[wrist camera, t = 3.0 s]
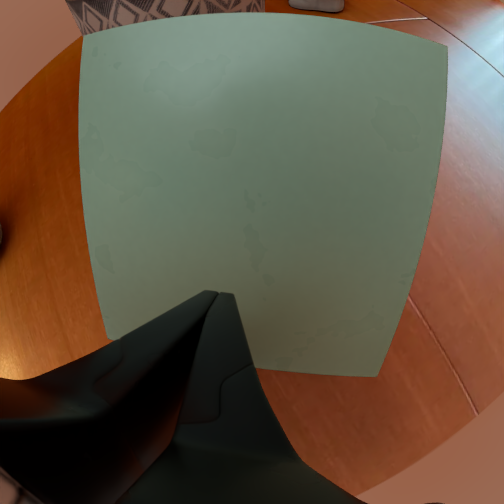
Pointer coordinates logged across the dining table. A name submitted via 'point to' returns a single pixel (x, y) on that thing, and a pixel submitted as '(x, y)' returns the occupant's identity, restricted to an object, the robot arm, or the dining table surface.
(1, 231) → the cup
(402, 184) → the lid
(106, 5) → the planter
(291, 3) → the teapot
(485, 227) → the dining table surface
